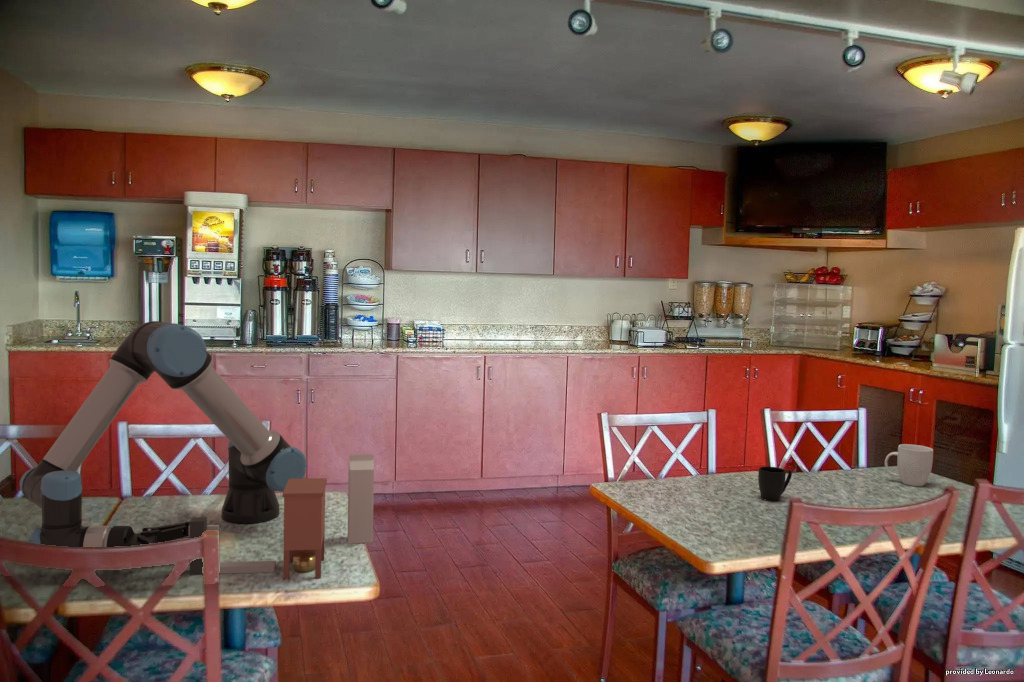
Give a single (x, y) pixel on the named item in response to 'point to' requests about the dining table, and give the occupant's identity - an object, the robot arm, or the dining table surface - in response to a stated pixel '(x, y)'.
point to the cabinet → (304, 521)
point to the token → (304, 562)
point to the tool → (196, 530)
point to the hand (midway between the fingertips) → (212, 541)
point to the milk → (360, 498)
